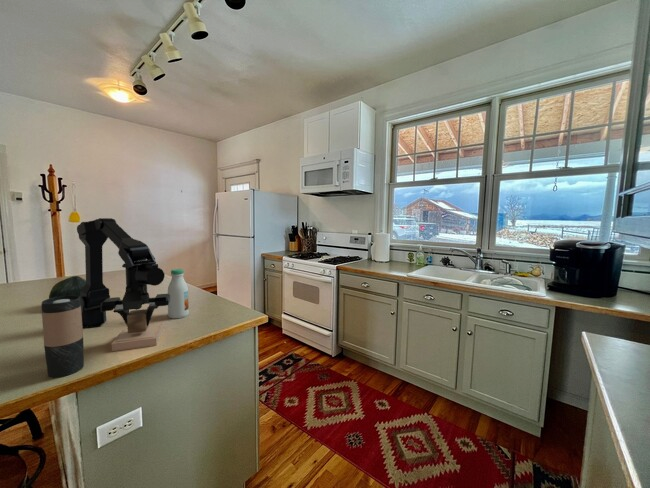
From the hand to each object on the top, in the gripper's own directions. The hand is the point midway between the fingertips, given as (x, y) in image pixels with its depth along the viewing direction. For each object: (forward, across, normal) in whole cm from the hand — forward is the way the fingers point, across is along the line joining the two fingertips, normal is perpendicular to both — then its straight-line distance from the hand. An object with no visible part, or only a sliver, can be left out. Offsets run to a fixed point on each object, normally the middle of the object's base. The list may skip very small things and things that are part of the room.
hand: (138, 326), depth 92 cm
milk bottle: (+5, +10, +21) cm, 24 cm away
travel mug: (+5, -14, -14) cm, 21 cm away
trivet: (+5, 0, 0) cm, 5 cm away
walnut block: (+1, 0, 0) cm, 1 cm away
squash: (+5, -35, +49) cm, 60 cm away
